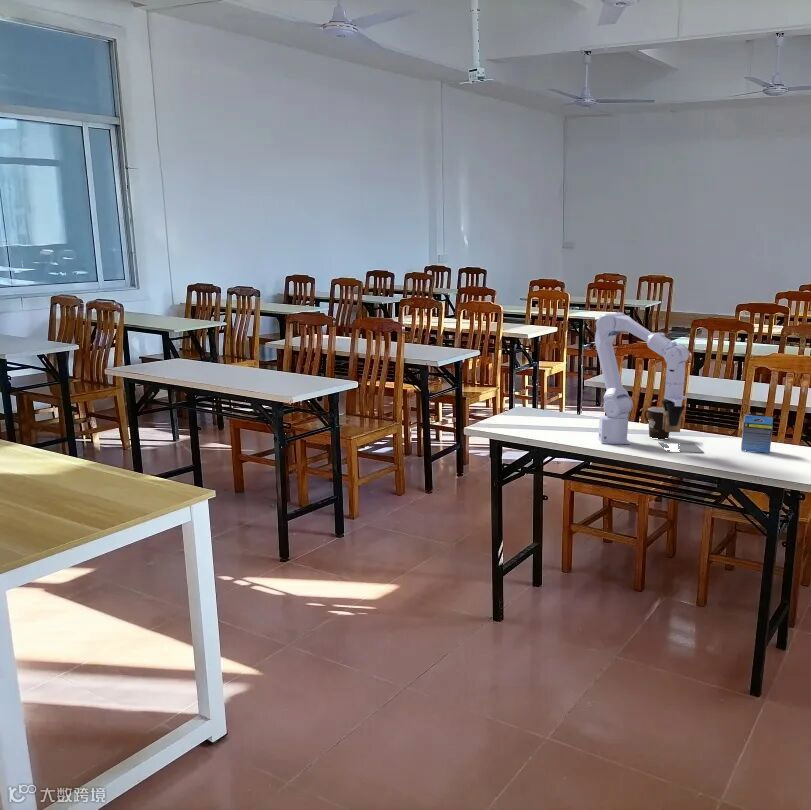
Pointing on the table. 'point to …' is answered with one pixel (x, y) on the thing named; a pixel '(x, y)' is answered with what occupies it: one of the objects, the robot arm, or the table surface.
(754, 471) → the table surface
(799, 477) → the table surface
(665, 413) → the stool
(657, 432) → the coffee mug
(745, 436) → the label tape box
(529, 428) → the table surface
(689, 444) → the mat
